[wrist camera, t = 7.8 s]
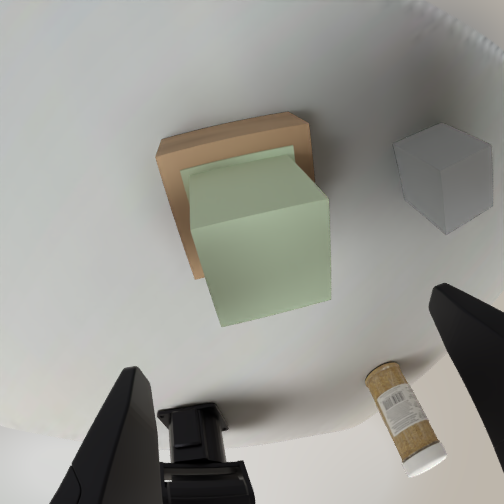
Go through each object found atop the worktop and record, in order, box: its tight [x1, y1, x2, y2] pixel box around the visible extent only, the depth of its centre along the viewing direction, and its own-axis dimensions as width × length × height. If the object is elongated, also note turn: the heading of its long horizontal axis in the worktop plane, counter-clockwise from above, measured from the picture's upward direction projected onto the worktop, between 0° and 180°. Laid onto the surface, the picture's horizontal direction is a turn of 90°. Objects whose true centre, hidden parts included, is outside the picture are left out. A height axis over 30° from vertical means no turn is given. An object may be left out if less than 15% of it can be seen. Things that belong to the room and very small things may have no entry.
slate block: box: [393, 122, 493, 235], centre depth 18 cm, size 4×4×5 cm
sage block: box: [189, 154, 331, 327], centre depth 13 cm, size 4×4×5 cm
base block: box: [155, 112, 315, 279], centre depth 17 cm, size 7×7×4 cm
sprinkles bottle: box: [365, 362, 447, 477], centre depth 28 cm, size 5×5×13 cm
